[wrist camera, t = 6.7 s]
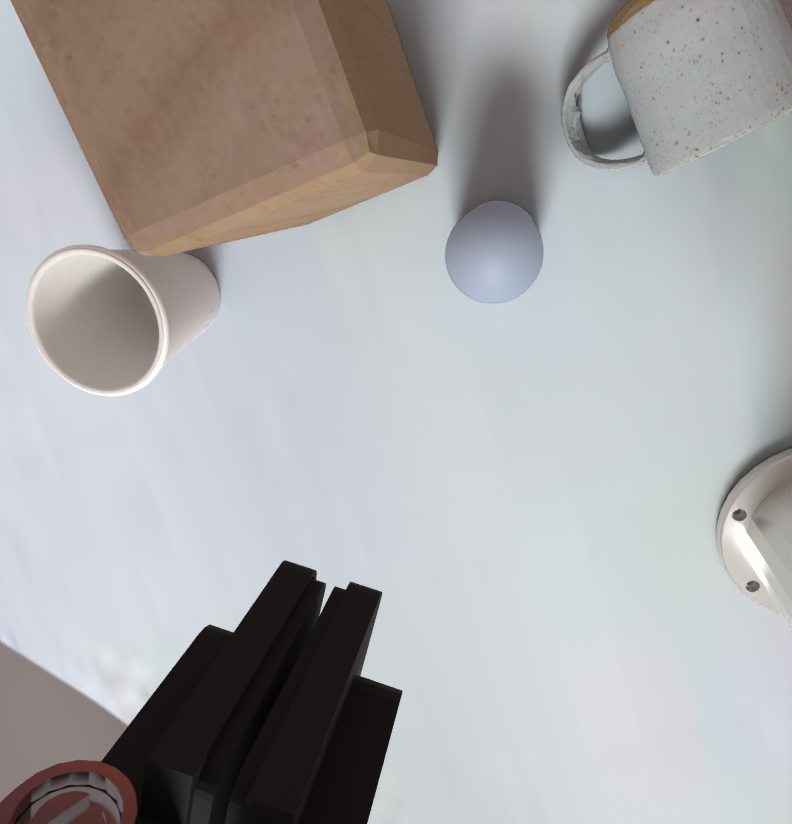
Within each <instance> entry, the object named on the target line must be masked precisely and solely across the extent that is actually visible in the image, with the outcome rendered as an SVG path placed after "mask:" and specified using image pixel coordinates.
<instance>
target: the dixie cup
mask: <svg viewBox="0 0 792 824" xmlns="http://www.w3.org/2000/svg"><path fill="white" fill-rule="evenodd" d="M219 308H220V291H219V287H218V284H217V281H216V279H215V277H214V275H213V274H212V272H211V271H210V269H209V268H208V267H207V266H206V265H205V264H204V263H203V262H202V261H200V260H199V259H197V258H196V257H194V256H192V255H189V254H186V253H182V252H181V253H176V254H172V255H167V256H146V255H142V254H140V253H137V252H136V251H134V250H109V249H107V248H103V247H99V246H94V245H73V246H69V247H65V248H62V249H60V250H58V251H56V252H54V253H52V254H51V255H50V256H48V257H47V258H46V259H45V260H44V261H43V262H42V263H41V264H40V265H39V266H38V268H37V269H36V271H35V272H34V274H33V276H32V278H31V281H30V284H29V287H28V291H27V298H26V313H27V320H28V325H29V329H30V332H31V335H32V337H33V340H34V342H35V344H36V346H37V348H38V350H39V352H40V353H41V355H42V356H43V358H44V359H45V360H46V362H47V363H48V364H49V365H50V366H51V368H52V369H53V370H54V371H55V372H56V373H57V374H59V375H60V376H61V377H62V378H63V379H65V380H66V381H68V382H69V383H71V384H72V385H74V386H76V387H78V388H80V389H82V390H84V391H87V392H90V393H93V394H97V395H103V396H121V395H126V394H129V393H132V392H135V391H137V390H139V389H141V388H143V387H144V386H146V385H147V384H148V383H149V382H150V381H152V380H153V378H154V377H155V376H156V375H157V374H158V372H159V371H160V369H161V367H162V366H164V365H165V364H166V363H167V362H168V361H169V360H171V359H172V358H173V357H174V356H175V355H176V354H178V353H179V352H180V351H181V350H182V349H183V348H185V347H186V346H187V345H188V344H189V343H190V342H192V341H193V340H194V339H195V338H196V337H198V336H199V335H200V334H201V333H203V332H204V331H205V330H206V329H207V328H208V327H209V326H210V325H211V324H212V323H213V321H214V320H215V318H216V316H217V314H218V312H219Z"/></svg>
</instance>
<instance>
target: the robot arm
mask: <svg viewBox="0 0 792 824" xmlns="http://www.w3.org/2000/svg"><path fill="white" fill-rule="evenodd" d="M737 509H738V510H737ZM735 510H737V511H735ZM716 542H717V547H718V552H719V556H720V559H721V561H722V563H723V565H724V567H725V569H726V571H727V573H728V574H729V576H730V578H731V579H732V581H733V583H734V584H735V585H736V586H737V587H738V588H739V589H740V590H741V592H742V593H743V594H745V595H746V596H747V597H749V598H750V599H752V600H753V601H754V602H756V603H757V604H759V605H761V606H763V607H765V608H767V609H769V610H772V611H774V612H776V613H780V614H782V616H783V617H784V619H785V621H786V622H787V624H788V625H789V627H790V629H791V630H792V448H790V449H788V450H785V451H783V452H781V453H778V454H776V455H773V456H771V457H770V458H768V459H767V460H765V461H763V462H762V463H760V464H759V465H757V466H755V467H754V468H753V469H752V470H751V471H750V472H748V473H747V474H746V475H745V476H744V477H743V478H742V479H740V481H739V482H738V483H737V484H736V486H735V487H734V488H733V489H732V491H731V492H730V493H729V495H728V497H727V499H726V501H725V503H724V505H723V507H722V508H721V511H720V515H719V519H718V523H717V534H716ZM316 576H317V572H316V570H313V569H310V568H307V567H304V566H301V565H298V564H295V563H292V562H289V561H286V560H285V561H283V562H282V563H281V565H280V566H279V567H278V569H277V570H276V572H275V573H274V575H273V576H272V578H271V579H270V580H269V582H268V583H267V585H266V586H265V588H264V589H263V591H262V592H261V594H260V595H259V596H258V598H257V599H256V601H255V602H254V604H253V605H252V607H251V608H250V610H249V611H248V612H247V614H246V615H245V617H244V618H243V620H242V621H241V623H240V624H239V626H238V627H237V628H236V630H235V631H234V633H233V632H230V631H227V630H224V629H221V628H218V627H215V626H213V625H208V626H206V627H205V628H204V629H203V630H202V631H201V632H200V633H199V634H198V636H197V637H196V638H195V640H194V641H193V642H192V644H191V645H190V646H189V648H188V649H187V650H186V651H185V653H184V654H183V655H182V657H181V658H180V659H179V661H178V662H177V663H176V665H175V666H174V667H173V668H172V670H171V671H170V672H169V674H168V675H167V676H166V678H165V679H164V680H163V682H162V683H161V684H160V685H159V687H158V688H157V689H156V691H155V692H154V693H153V695H152V696H151V697H150V699H149V700H148V701H147V702H146V704H145V705H144V706H143V708H142V709H141V710H140V712H139V713H138V714H137V715H136V717H135V718H134V719H133V721H132V722H131V723H130V725H129V726H128V727H127V729H126V730H125V731H124V733H123V734H122V735H121V737H120V738H119V739H118V740H117V742H116V743H115V744H114V746H113V747H112V748H111V750H110V751H109V752H108V754H107V755H106V756H105V757H104V759H103V760H102V761H101V762H99V761H88V760H75V761H70V762H65V763H59V764H56V765H54V766H51V767H49V768H47V769H45V770H42V771H40V772H38V773H36V774H34V775H33V776H31V777H30V778H29V779H27V780H26V781H25V782H23V783H22V784H20V785H19V786H18V787H17V788H15V789H14V790H13V791H12V792H11V793H10V794H9V795H8V796H7V797H5V798H4V799H3V800H2V801H1V802H0V824H367V822H368V819H369V815H370V811H371V807H372V804H373V800H374V796H375V792H376V789H377V785H378V781H379V777H380V774H381V770H382V766H383V763H384V759H385V755H386V751H387V748H388V744H389V740H390V736H391V733H392V729H393V725H394V721H395V718H396V714H397V710H398V706H399V703H400V699H401V695H402V690H399V689H396V688H393V687H390V686H387V685H384V684H381V683H378V682H375V681H373V680H370V679H367V678H364V677H361V676H360V675H361V671H362V667H363V664H364V660H365V656H366V653H367V649H368V645H369V641H370V638H371V634H372V630H373V627H374V623H375V619H376V615H377V612H378V608H379V604H380V600H381V596H382V592H380V591H377V590H374V589H371V588H368V587H365V586H362V585H359V584H356V583H353V582H350V583H349V585H348V587H347V589H346V590H345V589H342V588H339V587H336V586H335V587H334V589H333V591H332V593H331V595H330V596H329V598H328V600H327V602H326V604H325V606H324V608H323V610H322V612H321V614H320V610H321V606H322V601H323V597H324V593H325V588H326V584H325V583H323V582H320V581H317V580H316ZM319 614H320V616H319Z"/></svg>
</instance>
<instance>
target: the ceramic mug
mask: <svg viewBox="0 0 792 824" xmlns="http://www.w3.org/2000/svg"><path fill="white" fill-rule="evenodd" d="M607 38H608V44H609V46H608V48H607V50H606V51H605V52H604V53H602V54H600V55H598V56H597V57H595V58H594V59H592V60H591V61H589V63H588V64H587V65H586V66H585V67H583V68H582V69H581V70H580V71H579V72H578V74H577V75H576V76H575V78H574V79H573V80H572V81H571V83H570V85H569V86H568V89H567V92H566V94H565V97H564V101H563V106H562V110H561V117H562V127H563V132H564V135H565V138H566V141H567V144H568V146H569V147H570V149H571V151H572V152H573V154H574V155H575V157H577V158H578V159H579V160H580V161H582V162H583V163H584V164H586V165H589V166H592V167H595V168H599V169H604V170H619V169H625V168H629V167H633V166H637V165H640V164H643V163H648V164H649V165H650V168H651V170H652V172H653V174H654V175H657V176H658V175H662V174H665V173H668V172H670V171H672V170H674V169H677V168H680V167H681V166H683V165H686V164H688V163H690V162H692V161H694V160H696V159H698V158H701V157H702V156H704V155H706V154H708V153H711V152H713V151H715V150H717V149H719V148H721V147H723V146H725V145H727V144H729V143H732V142H733V141H735V140H737V139H739V138H741V137H743V136H745V135H746V134H748V133H750V132H753V131H755V130H756V129H758V128H760V127H762V126H764V125H766V124H767V123H769V122H771V121H773V120H775V119H777V118H779V117H781V116H783V115H785V114H787V113H789V112H791V111H792V29H791V27H790V25H789V22H788V20H787V18H786V16H785V13H784V11H783V9H782V7H781V4H780V2H779V0H631V1H630V2H629V3H628V4H627V5H625V6H624V7H623V8H622V9H621V10H620V11H619V12H618V13H617V14H616V16H615V17H614V18H613V20H612V21H611V24H610V27H609V30H608V34H607ZM610 60H612V64H613V67H614V70H615V73H616V75H617V78H618V81H619V83H620V85H621V88H622V90H623V92H624V94H625V97H626V100H627V103H628V106H629V109H630V112H631V115H632V118H633V120H634V123H635V126H636V129H637V133H638V135H639V138H640V141H641V144H642V146H643V148H644V152H643V154H642V155H640V156H636V157H632V158H628V159H622V160H608V159H602V158H600V157H598V156H596V155H594V154H593V152H592V150H590V149H589V147H588V145H587V141H586V138H585V135H584V132H583V129H582V125H581V120H580V115H581V110H580V108H579V107H578V106H576V102H577V97H578V95H579V93H580V91H581V89H582V87H583V84H584V83H585V82H586V80H587V79H588V78H589V77H591V75H592V74H593V73H594V72H595V71H596V70H597V69H598V68H600V67H601V66H602V65H603V64H604V63H606V62H608V61H610Z"/></svg>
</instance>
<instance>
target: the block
mask: <svg viewBox="0 0 792 824" xmlns="http://www.w3.org/2000/svg"><path fill="white" fill-rule="evenodd" d="M11 2H12V4H13V6H14V9H15V11H16V13H17V15H18V17H19V19H20V21H21V23H22V25H23V27H24V29H25V32H26V34H27V36H28V38H29V40H30V42H31V44H32V46H33V48H34V50H35V52H36V55H37V57H38V59H39V61H40V63H41V65H42V67H43V69H44V71H45V73H46V75H47V78H48V80H49V82H50V84H51V86H52V88H53V90H54V92H55V94H56V96H57V98H58V101H59V103H60V105H61V107H62V109H63V111H64V113H65V115H66V117H67V119H68V121H69V123H70V126H71V128H72V130H73V132H74V134H75V136H76V138H77V140H78V142H79V144H80V146H81V149H82V151H83V153H84V155H85V157H86V159H87V161H88V163H89V165H90V167H91V169H92V172H93V174H94V176H95V178H96V180H97V182H98V184H99V186H100V188H101V190H102V192H103V195H104V197H105V199H106V201H107V203H108V205H109V207H110V209H111V211H112V213H113V215H114V218H115V220H116V222H117V224H118V226H119V228H120V230H121V232H122V234H123V236H124V238H125V240H126V241H127V242H128V243H129V244H130V245H131V246H132V247H133V249H134V250H135V251H136V252H137V253H140V254H142V255H146V256H167V255H172V254H176V253H181V252H185V251H190V250H194V249H199V248H203V247H208V246H212V245H217V244H221V243H226V242H230V241H235V240H239V239H244V238H248V237H253V236H257V235H262V234H266V233H271V232H275V231H279V230H284V229H288V228H293V227H297V226H302V225H306V224H310V223H312V222H314V221H317V220H319V219H322V218H324V217H327V216H329V215H332V214H334V213H336V212H339V211H341V210H344V209H346V208H349V207H351V206H353V205H356V204H358V203H361V202H363V201H366V200H368V199H371V198H373V197H375V196H378V195H380V194H383V193H385V192H388V191H390V190H392V189H395V188H397V187H400V186H402V185H405V184H407V183H410V182H412V181H414V180H417V179H419V178H422V177H424V176H427V175H428V174H429V173H430V172H431V171H432V170H433V169H434V168H435V167H436V166H437V159H438V150H437V147H436V144H435V141H434V138H433V135H432V132H431V130H430V127H429V124H428V121H427V118H426V115H425V112H424V109H423V106H422V103H421V100H420V97H419V94H418V91H417V88H416V85H415V82H414V79H413V76H412V73H411V70H410V67H409V64H408V61H407V58H406V55H405V52H404V49H403V46H402V43H401V40H400V37H399V34H398V31H397V28H396V25H395V22H394V19H393V16H392V13H391V10H390V7H389V5H388V4H387V2H386V1H385V0H11Z"/></svg>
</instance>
